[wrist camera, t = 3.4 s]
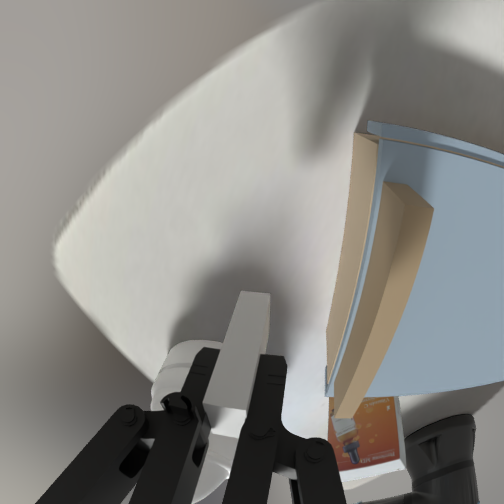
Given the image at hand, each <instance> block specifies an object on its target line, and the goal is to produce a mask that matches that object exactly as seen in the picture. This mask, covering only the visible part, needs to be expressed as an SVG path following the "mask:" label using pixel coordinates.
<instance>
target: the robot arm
mask: <svg viewBox="0 0 504 504" xmlns="http://www.w3.org/2000/svg"><path fill="white" fill-rule="evenodd" d="M270 299H271V293H261V292H250V291H241V292H240V294H239V297H238V300H237V303H236V306H235V309H234V312H233V315H232V318H231V321H230V324H229V327H228V330H227V333H226V335H225V338H224V341H223V344H222V347H221V349H215V348H208V347H203V348H202V349H201V350H200V351H199V352H198V353H197V354H196V355H195V358H194V360H193V363H192V366H191V368H190V370H189V373H188V375H187V377H186V380H185V382H184V384H183V387H182V389H181V392H173V393H169V394H168V395H166V396H165V397H163V399H162V400H161V401H160V404H161V405H162V407H163V409H164V410H161V411H143V410H142V409H140V408H139V407H138V406H135V405H124V406H121V407H120V408H119V409H118V410H117V411H116V412H115V413H114V414H113V415H112V416H111V417H110V419H109V420H108V421H107V422H106V423H105V424H104V425H103V427H102V428H101V429H100V430H99V431H98V433H97V434H96V435H95V436H94V437H93V438H92V439H91V440H90V442H89V443H88V444H87V445H86V446H85V447H84V448H83V450H82V451H81V452H80V453H79V454H78V455H77V457H76V458H75V459H74V460H73V461H72V462H71V463H70V464H69V466H68V467H67V468H66V469H65V470H64V471H63V472H62V474H61V475H60V476H59V477H58V478H57V479H56V480H55V482H54V483H53V484H52V485H51V486H50V487H49V489H48V490H47V491H46V492H45V493H44V494H43V495H42V496H41V498H40V499H39V500H38V501H37V502H36V503H35V504H121V502H122V501H123V499H124V498H125V497H126V496H127V495H128V493H129V492H130V491H131V490H132V488H133V487H134V486H135V484H136V483H137V484H136V487H135V489H134V492H133V494H132V497H131V499H130V502H129V504H191V503H192V500H193V497H194V493H195V490H196V487H197V484H198V480H199V477H200V474H201V470H202V467H203V464H204V460H205V457H206V454H207V450H208V447H209V439H208V437H209V434H210V431H212V433H213V434H218V435H224V436H229V437H235V438H239V439H238V443H237V447H236V451H235V455H234V459H233V463H232V467H231V471H230V475H229V479H228V483H227V487H226V491H225V495H224V498H223V502H222V504H267V499H268V494H269V488H270V483H271V477H272V472H275V473H278V474H280V475H282V476H285V477H287V478H289V483H290V490H291V497H292V504H346V499H345V495H344V490H343V486H342V482H341V478H340V473H339V469H338V465H337V461H336V457H335V453H334V449H333V447H332V445H331V444H330V443H329V442H328V441H327V440H325V439H322V438H309V439H305V438H302V437H299V436H297V435H294V434H292V433H290V432H289V431H288V430H287V429H285V427H284V426H283V424H282V421H281V413H282V406H283V398H284V390H285V382H286V374H287V364H286V361H285V359H284V356H276V355H266V354H265V353H266V348H267V342H268V337H269V328H270ZM475 431H476V425H475V421H474V417H473V416H472V415H459V416H454V417H451V418H447V419H444V420H441V421H439V422H436V423H434V424H431V425H429V426H427V427H425V428H423V429H421V430H419V431H417V432H415V433H413V434H412V435H410V436H409V437H407V438H406V439H405V440H404V443H405V454H406V468H407V471H408V473H409V475H410V477H411V479H412V492H411V493H407V494H403V495H399V496H394V497H390V498H385V499H380V500H375V501H369V502H358V503H355V504H479V503H480V501H479V499H478V489H477V481H476V474H475V468H474V462H473V450H474V442H475Z"/></svg>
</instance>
